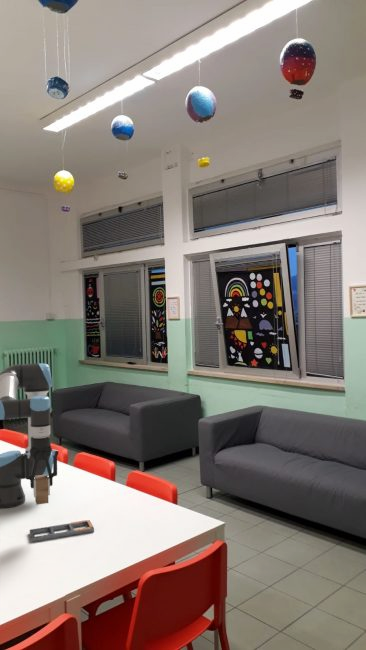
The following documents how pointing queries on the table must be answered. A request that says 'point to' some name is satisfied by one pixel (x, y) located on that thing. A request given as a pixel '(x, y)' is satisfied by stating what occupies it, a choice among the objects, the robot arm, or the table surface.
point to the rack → (60, 527)
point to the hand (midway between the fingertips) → (41, 494)
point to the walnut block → (41, 489)
